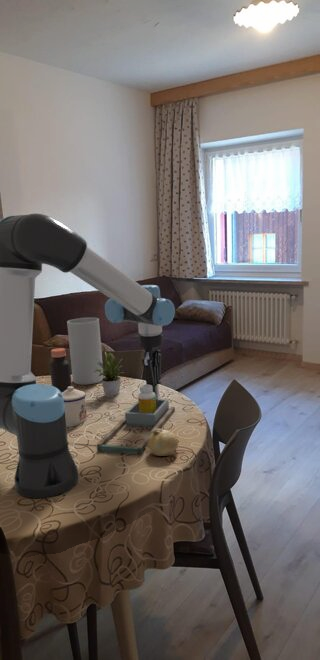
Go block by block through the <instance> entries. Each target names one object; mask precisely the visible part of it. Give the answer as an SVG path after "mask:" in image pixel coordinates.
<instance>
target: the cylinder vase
mask: <svg viewBox="0 0 320 660" xmlns="http://www.w3.org/2000/svg"><path fill="white" fill-rule="evenodd" d="M66 321H67V322H66V323H67V325H66V327H67V332H68V333H67V335H68V344H69V353H70V354H69V355H70V368H71V375H72V376H71V378H72V382H73V383H74V384H75V385H79V386H80V385H81V386H87V385H90V386H91V385H95V384H98V383H102V381H101V379H102V378H104V377H105V376H104V377H103V375H101V376H99V375H100V374H101V373H103V372H104V370H101V371H100V372H101V373H100V372H99V371H97V372H98V373H97V372H95V371H96V370H97V369H98V370H99V369H103V368H104V367H103V366H102V367H103V368H102V367H101V366H100V365H101V364H100V363H102V364H103V353H102V342H101V331H100V329H101V328H100V319H99V318H97V317H80V318H74V319H69V320H66ZM94 357H95V358H94ZM96 358H97V359H96ZM98 359H99V360H100V361H101V362H100V361H99V360H98ZM98 362H99V364H100V365H99V364H97V363H98ZM95 363H96V364H95ZM103 365H104V364H103ZM95 368H96V369H95ZM102 371H103V372H102Z"/></svg>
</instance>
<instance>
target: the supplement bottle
mask: <svg viewBox="0 0 320 660" xmlns="http://www.w3.org/2000/svg"><path fill="white" fill-rule="evenodd" d="M152 391H153V387H152V385H146V384H141V385H140V386H139V393H138V394H137V399H138V400H137V401H139V413H149V414H153V413H154V412H155V411H156V398H155V393H154V392H152Z"/></svg>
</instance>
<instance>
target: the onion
mask: <svg viewBox="0 0 320 660" xmlns="http://www.w3.org/2000/svg"><path fill="white" fill-rule="evenodd" d="M178 446H179V439H178V437H177V436H176V434H174V433H173V432H171V431H170V430H168V429H162V428H161V429H160V428H158V429H155V430H154V431H153V433H152V434H151V435H150V437H149V440H148V445H147V447H148V450H149V452H151V454H152V455H154V456H156V457H157V456H158V457H161V456H162V457H168V456H172V455H173V454H174V453H175V452H176V451H177V449H178Z"/></svg>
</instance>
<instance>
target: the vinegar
mask: <svg viewBox="0 0 320 660" xmlns="http://www.w3.org/2000/svg"><path fill="white" fill-rule="evenodd" d="M50 355H51V358H52V361H51V362H50V364H49V370H50V380H51V386H54V387H56V388H57V389H59V390H60V392H61V393H62V392H64V391H66V390H67V388H68V387H70V386H73V385H72V376H71V375H72V372H71V362H69V361H68V360H67V359H66V358H67V352H66V348H64V347H61V348H60V347H58V348H53V349H51V350H50Z"/></svg>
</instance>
